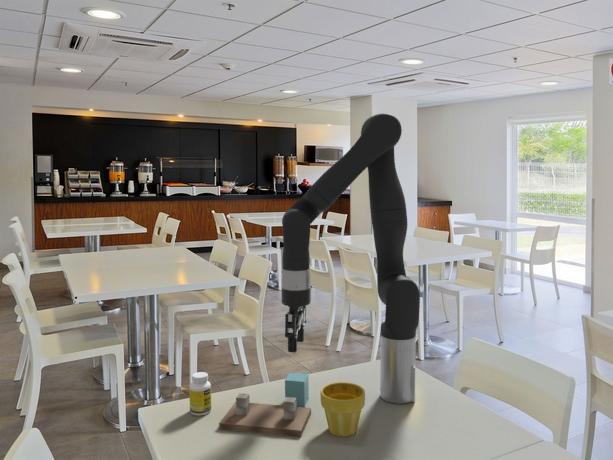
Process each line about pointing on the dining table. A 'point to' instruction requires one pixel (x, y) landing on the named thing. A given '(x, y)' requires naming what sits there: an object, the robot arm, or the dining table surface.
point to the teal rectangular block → (297, 388)
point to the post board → (266, 417)
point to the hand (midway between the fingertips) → (296, 346)
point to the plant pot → (342, 407)
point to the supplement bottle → (200, 394)
